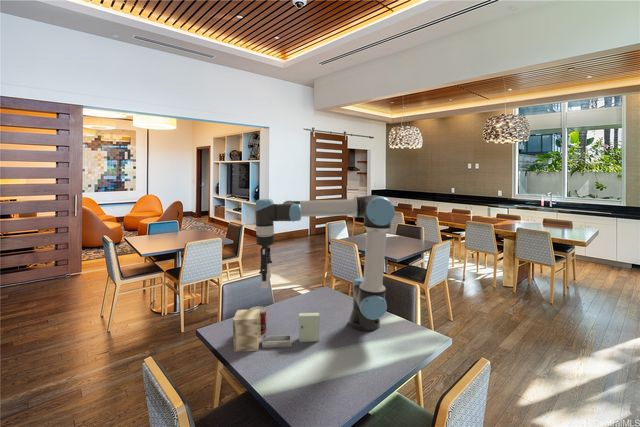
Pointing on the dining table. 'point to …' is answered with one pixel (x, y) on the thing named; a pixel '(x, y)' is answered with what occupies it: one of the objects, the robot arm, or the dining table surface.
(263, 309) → the canned food
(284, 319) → the dining table surface
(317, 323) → the pale green rectangular block
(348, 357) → the dining table surface
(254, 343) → the open wooden box
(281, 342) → the grey rectangular frame
